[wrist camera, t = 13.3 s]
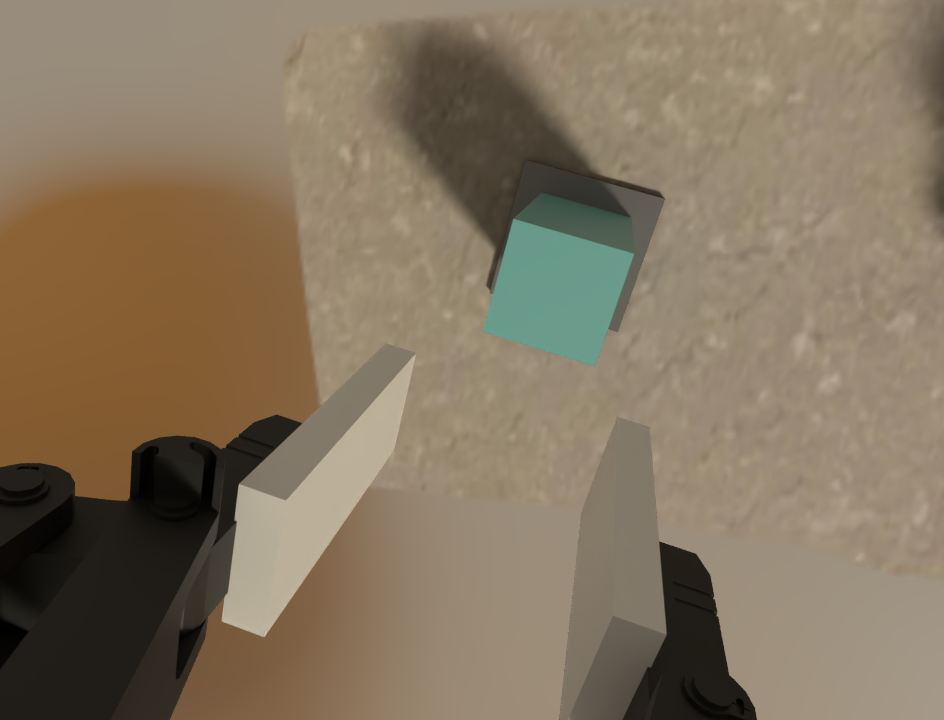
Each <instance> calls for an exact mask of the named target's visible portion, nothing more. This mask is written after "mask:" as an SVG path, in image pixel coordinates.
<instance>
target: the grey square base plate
mask: <svg viewBox="0 0 944 720" xmlns="http://www.w3.org/2000/svg"><path fill="white" fill-rule="evenodd" d="M541 193H546V194H549V195H553V196H556V197H560V198H563V199H567V200H570V201H574V202H578V203H581V204H585V205H588V206H592V207H595V208H599V209H602V210H606V211H609V212H613V213H616V214H620V215H623V216H627V217H630V218H632V231H633V244H634V256H633V259H632V262H631V265H630V267H629V270H628V273H627V276H626V279H625V282H624V285H623V287H622V290H621V293H620V296H619V299H618V302H617V305H616V308H615V310H614V313H613V316H612V319H611V322H610V325H609V328H608V329H610V330H613V331H616V332H618V329H619V327H620V324H621V321H622V318H623V315H624V313H625V310H626V307H627V304H628V301H629V299H630V296H631V293H632V290H633V287H634V284H635V282H636V279H637V276H638V273H639V270H640V268H641V265H642V262H643V259H644V256H645V253H646V251H647V248H648V245H649V242H650V239H651V237H652V234H653V231H654V228H655V225H656V223H657V220H658V217H659V214H660V211H661V208H662V206H663V203H664V200H665V198H662V197H658V196H655V195H651V194H647V193H644V192H640V191H637V190H633V189H629V188H626V187H622V186H619V185H615V184H611V183H608V182H604V181H601V180H597V179H593V178H590V177H586V176H583V175H579V174H576V173H572V172H568V171H565V170H561V169H558V168H554V167H550V166H547V165H543V164H540V163H536V162H532V161H529V160H525V162H524V166H523V170H522V173H521V177H520V181H519V185H518V188H517V192H516V196H515V200H514V203H513V207H512V211H511V215H510V218H509V222H508V226H507V230H506V233H505V237H504V241H503V245H502V248H501V252H500V256H499V260H498V263H497V267H496V271H495V275H494V278H493V282H492V286H491V290H490V293H491V294H493V292H494V289H495V285H496V281H497V277H498V274H499V270H500V266H501V263H502V259H503V255H504V251H505V248H506V244H507V240H508V237H509V233H510V229H511V225H512V222H513V219H514V218H515V217H516V216H517V215H518V214H519V213H520V212H521V211H522V210H523V209H525V208H526V207H527V206H528V205H529V204H530V203H531V202H532V201H533V200H534V199H536V198H537V197H538V196H539V195H540V194H541Z"/></svg>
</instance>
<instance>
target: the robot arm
mask: <svg viewBox="0 0 944 720" xmlns="http://www.w3.org/2000/svg"><path fill="white" fill-rule="evenodd" d="M415 356H416V353H414V352H411V351H408V350H405V349H402V348H399V347H395V346H392V345H389V344H386V345H385V346H383V347H382V348H381V349H380V350H379V351H378V352H377V353H376V354H375V355H374V356H373V357H372V358H371V359H370V360H369V361H368V362H367V363H366V364H365V365H363V366H362V367H361V368H360V369H359V370H358V371H357V372H356V373H355V374H354V375H353V376H352V377H351V378H350V379H349V380H348V381H347V382H346V383H345V384H344V385H342V386H341V387H340V388H339V389H338V390H337V391H336V392H335V393H334V394H333V395H332V396H331V397H330V398H329V399H328V400H327V401H326V402H325V403H324V404H323V405H321V406H320V407H319V408H318V409H317V410H316V411H315V412H314V413H313V414H312V415H311V416H310V417H309V418H308V419H307V420H306V421H305V422H304V423H300V422H297V421H294V420H291V419H288V418H285V417H282V416H279V415H274V416H271V417H268V418H266V419H263V420H260V421H257V422H254V423H253V424H252V425H250V426H249V427H248V428H247V429H246V430H244V431H243V432H242V433H241V434H239V437H238V438H237V437H236V438H235V439H233V440H232V441H231V442H230V443H229V444H227V445H226V448H222V449H220V448H218V447H217V446H215V445H214V444H212V443H211V442H208V441H205V440H202V439H199V438H195V437H185V436H171V437H161V438H157V439H154V440H151V441H148V442H145V443H143V444H142V445H140V446H139V447H137V448H136V449H135V450H133V451H132V467H131V486H130V498H129V499H128V501H115V500H105V499H96V498H87V497H78V496H75V482H74V480H73V479H72V477H71V475H70V474H69V473H68V472H66V471H64V470H62V469H61V468H59V467H56V466H51V465H46V464H41V463H25V464H23V463H21V464H15V465H10V466H5V467H0V720H170V718H171V716H172V713H173V710H174V708H175V706H176V704H177V702H178V699H179V697H180V695H181V693H182V690H183V688H184V686H185V683H186V681H187V679H188V676H189V674H190V672H191V669H192V667H193V665H194V663H195V660H196V658H197V656H198V653H199V651H200V649H201V647H202V644H203V642H204V639H205V635H206V629H207V622H208V616H209V615H210V613H211V612H212V611H213V610H214V609H215V607H216V606H217V605H218V604H219V603H220V601H221V600H222V599H223V598H224V597H225V600H224V607H223V615H222V621H223V622H225V623H228V624H231V625H233V626H236V627H238V628H241V629H244V630H247V631H249V632H252V633H254V634H257V635H260V636H262V637H264V636H265V635H266V634H267V632H268V631H269V630H270V628H271V627H272V625H273V624H274V622H275V621H276V619H277V618H278V616H279V615H280V614H281V612H282V611H283V609H284V608H285V606H286V605H287V604H288V602H289V601H290V599H291V598H292V596H293V595H294V593H295V592H296V591H297V589H298V588H299V586H300V585H301V583H302V582H303V580H304V579H305V578H306V576H307V575H308V573H309V572H310V570H311V569H312V567H313V566H314V565H315V563H316V562H317V560H318V559H319V557H320V556H321V555H322V553H323V552H324V550H325V549H326V547H327V546H328V544H329V543H330V542H331V540H332V538H333V537H334V536H335V534H336V533H337V531H338V530H339V529H340V527H341V526H342V524H343V523H344V521H345V519H346V518H347V517H348V515H349V514H350V513H351V511H352V510H353V508H354V507H355V505H356V504H357V503H358V501H359V500H360V498H361V497H362V495H363V494H364V492H365V491H366V490H367V488H368V487H369V485H370V484H371V482H372V481H373V479H374V478H375V477H376V475H377V474H378V472H379V471H380V469H381V468H382V466H383V465H384V464H385V462H386V461H387V459H388V458H389V456H390V455H391V453H392V452H393V451H394V448H395V444H396V439H397V435H398V431H399V426H400V422H401V417H402V413H403V409H404V404H405V400H406V396H407V391H408V387H409V383H410V378H411V374H412V369H413V365H414V361H415ZM713 597H714V593H713V587H712V582H711V577H710V574H709V573H708V571H707V570H706V568H705V567H704V565H703V564H702V562H701V561H700V559H699V558H698V556H697V555H696V554H695V553H692V552H689V551H686V550H683V549H680V548H677V547H674V546H671V545H668V544H665V543H662V542H659V536H658V524H657V511H656V499H655V487H654V475H653V463H652V451H651V439H650V427H647V426H644V425H641V424H638V423H635V422H631V421H628V420H625V419H622V418H619V417H617V419H616V422H615V424H614V427H613V430H612V432H611V435H610V438H609V440H608V443H607V446H606V448H605V451H604V454H603V456H602V459H601V462H600V464H599V467H598V470H597V472H596V475H595V478H594V480H593V483H592V486H591V488H590V491H589V494H588V496H587V499H586V502H585V504H584V507H583V510H582V512H581V521H580V530H579V539H578V550H577V558H576V567H575V577H574V586H573V595H572V605H571V614H570V623H569V632H568V641H567V651H566V660H565V670H564V679H563V688H562V697H561V706H560V716H559V720H757V718H756V712H755V707H754V706H753V704H752V702H751V700H750V698H749V697H748V695H747V693H746V692H745V691H744V690H743V688H742V687H741V686H740V685H738V683H737V682H736V681H735V680H734V679H733V678H732V677H731V676H729V672H728V667H727V661H726V656H725V651H724V646H723V640H722V636H721V630H720V624H719V619H718V617H717V616H716V615H717V608H716V603H715V600H714V599H713Z"/></svg>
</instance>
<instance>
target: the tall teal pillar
mask: <svg viewBox="0 0 944 720" xmlns="http://www.w3.org/2000/svg"><path fill="white" fill-rule="evenodd" d="M633 256H634V244H633V231H632V218H630V217H627V216H623V215H620V214H616V213H613V212H609V211H606V210H602V209H599V208H595V207H592V206H588V205H585V204H581V203H578V202H574V201H570V200H567V199H563V198H560V197H556V196H553V195H549V194H546V193H541V194H540V195H539V196H538V197H537V198H536V199H534V200H533V201H532V202H531V203H530V204H529V205H528V206H527V207H526V208H525V209H523V210H522V211H521V212H520V213H519V214H518V215H517V216H516V217H515V218H514V219H513V222H512V225H511V229H510V233H509V237H508V240H507V244H506V248H505V251H504V255H503V259H502V263H501V266H500V270H499V274H498V277H497V281H496V285H495V289H494V292H493V296H492V300H491V303H490V307H489V311H488V315H487V318H486V322H485V326H484V329H483V332H486V333H489V334H492V335H496V336H499V337H502V338H505V339H508V340H512V341H515V342H518V343H521V344H525V345H528V346H531V347H534V348H537V349H541V350H544V351H547V352H550V353H553V354H557V355H560V356H563V357H566V358H570V359H573V360H576V361H579V362H582V363H586V364H589V365H592V366H595V365H596V362H597V359H598V356H599V353H600V351H601V348H602V345H603V342H604V339H605V336H606V333H607V330H608V328H609V325H610V322H611V319H612V316H613V313H614V310H615V308H616V305H617V302H618V299H619V296H620V293H621V290H622V287H623V285H624V282H625V279H626V276H627V273H628V270H629V267H630V265H631V262H632V259H633Z"/></svg>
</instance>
